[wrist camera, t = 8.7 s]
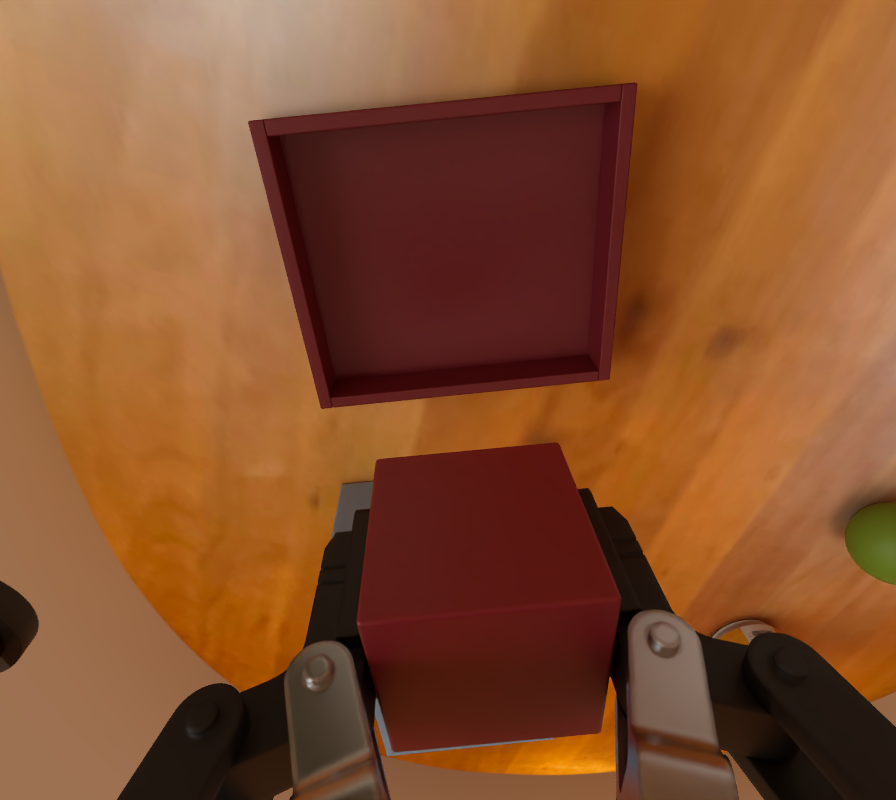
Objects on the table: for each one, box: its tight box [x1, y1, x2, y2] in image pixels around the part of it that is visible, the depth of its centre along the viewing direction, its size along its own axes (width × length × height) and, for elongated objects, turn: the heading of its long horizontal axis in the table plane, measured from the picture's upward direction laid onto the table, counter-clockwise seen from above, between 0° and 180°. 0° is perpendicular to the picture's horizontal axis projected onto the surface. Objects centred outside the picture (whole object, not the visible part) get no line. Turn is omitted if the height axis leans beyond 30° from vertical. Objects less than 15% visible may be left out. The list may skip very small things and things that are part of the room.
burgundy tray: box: [248, 83, 637, 409], centre depth 24 cm, size 15×13×2 cm
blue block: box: [332, 481, 373, 538], centre depth 31 cm, size 4×4×4 cm
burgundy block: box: [356, 443, 621, 752], centre depth 11 cm, size 4×4×4 cm
